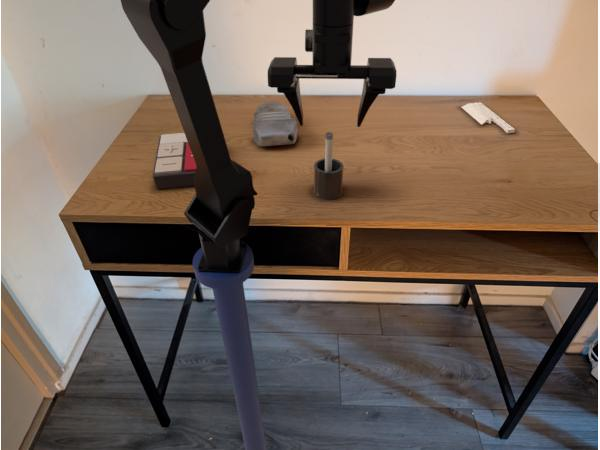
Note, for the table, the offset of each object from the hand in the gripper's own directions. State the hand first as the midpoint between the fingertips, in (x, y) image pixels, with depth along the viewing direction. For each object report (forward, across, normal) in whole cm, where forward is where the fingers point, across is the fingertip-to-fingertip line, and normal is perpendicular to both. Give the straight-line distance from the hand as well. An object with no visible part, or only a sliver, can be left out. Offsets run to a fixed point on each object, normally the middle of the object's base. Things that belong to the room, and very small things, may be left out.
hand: (329, 125), depth 70 cm
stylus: (+12, 0, 0) cm, 13 cm away
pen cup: (+13, 0, 0) cm, 13 cm away
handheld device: (+13, +13, -24) cm, 31 cm away
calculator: (+13, +28, -7) cm, 32 cm away
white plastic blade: (+13, -36, -32) cm, 50 cm away
